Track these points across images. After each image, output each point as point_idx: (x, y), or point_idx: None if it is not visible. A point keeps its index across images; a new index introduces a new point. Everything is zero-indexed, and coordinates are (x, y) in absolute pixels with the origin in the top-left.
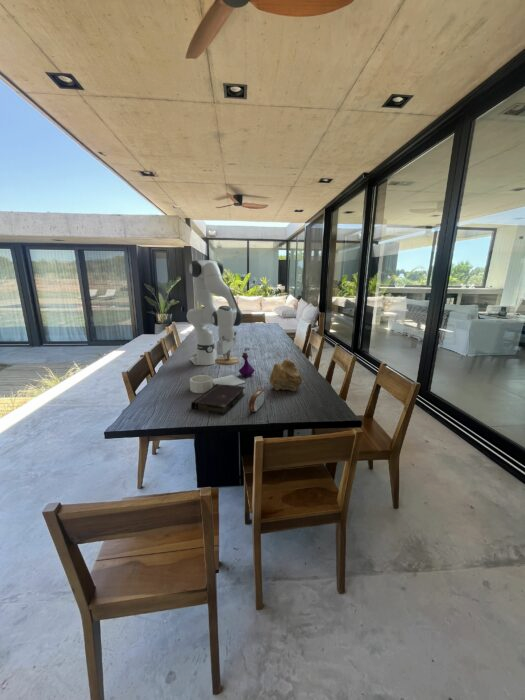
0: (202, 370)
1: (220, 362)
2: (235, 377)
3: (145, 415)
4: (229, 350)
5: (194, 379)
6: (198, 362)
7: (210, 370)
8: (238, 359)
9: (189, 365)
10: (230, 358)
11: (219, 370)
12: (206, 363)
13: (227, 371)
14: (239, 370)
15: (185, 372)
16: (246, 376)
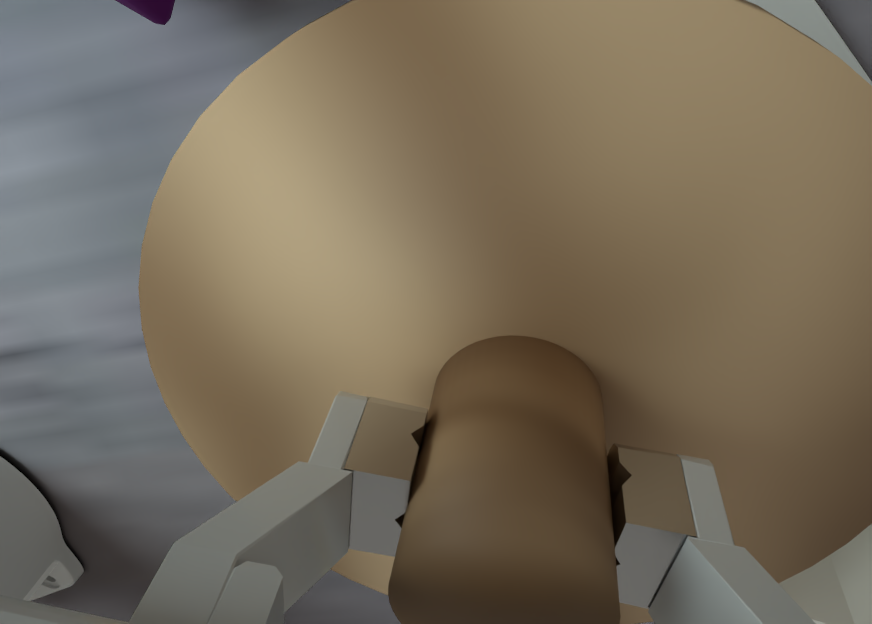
0: (201, 496)
1: (797, 522)
2: None
3: None
4: (276, 610)
5: (794, 582)
6: (48, 569)
7: (165, 428)
8: (419, 6)
9: (119, 601)
10: (357, 327)
11: (116, 337)
12: (18, 502)
13: (102, 232)
14: (160, 2)
15: (316, 607)
16: None
